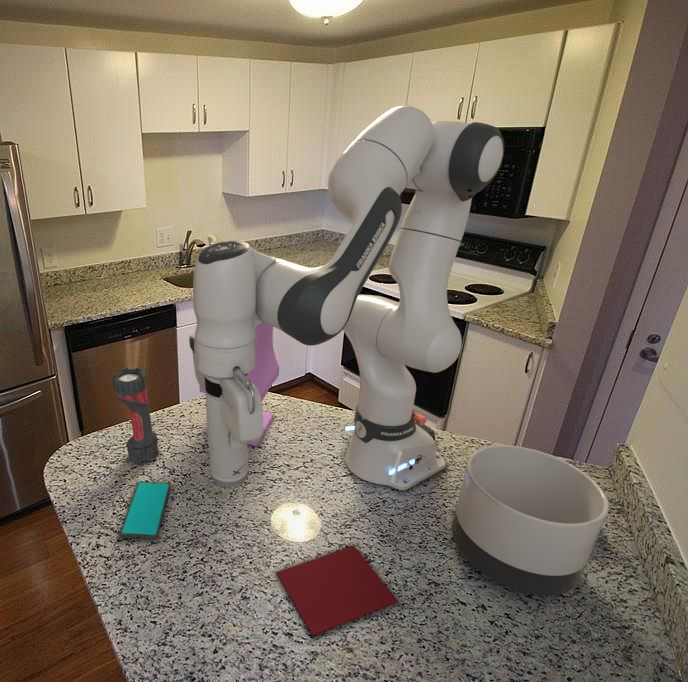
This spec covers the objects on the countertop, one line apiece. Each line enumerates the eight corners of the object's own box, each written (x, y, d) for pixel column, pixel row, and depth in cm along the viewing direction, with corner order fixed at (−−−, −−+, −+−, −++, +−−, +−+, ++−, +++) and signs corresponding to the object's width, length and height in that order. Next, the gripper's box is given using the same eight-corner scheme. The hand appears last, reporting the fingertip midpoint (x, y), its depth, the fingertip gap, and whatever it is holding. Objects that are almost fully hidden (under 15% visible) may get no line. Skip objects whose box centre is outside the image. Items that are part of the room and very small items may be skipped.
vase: (277, 416, 127) (281, 294, 112) (259, 449, 114) (261, 315, 100) (224, 405, 133) (222, 287, 119) (201, 435, 120) (195, 307, 106)
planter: (450, 506, 95) (467, 434, 88) (565, 539, 87) (595, 462, 79) (445, 580, 80) (466, 500, 72) (585, 629, 71) (624, 544, 64)
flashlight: (116, 461, 111) (104, 377, 102) (136, 443, 117) (127, 362, 108) (141, 471, 108) (132, 385, 98) (161, 453, 114) (154, 370, 104)
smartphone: (119, 534, 90) (138, 481, 103) (120, 537, 90) (138, 484, 104) (157, 537, 89) (170, 483, 102) (157, 540, 89) (171, 486, 103)
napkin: (353, 547, 86) (354, 545, 86) (398, 602, 76) (398, 600, 76) (276, 573, 82) (276, 571, 82) (312, 636, 71) (312, 634, 71)
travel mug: (247, 489, 74) (244, 379, 66) (207, 485, 76) (199, 377, 68) (252, 464, 80) (250, 360, 72) (214, 461, 81) (208, 358, 73)
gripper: (276, 382, 61) (273, 467, 66) (221, 327, 78) (222, 398, 84) (231, 391, 59) (231, 478, 64) (185, 332, 77) (189, 404, 82)
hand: (226, 432), depth 74 cm, fingers closed on travel mug, 6 cm apart
